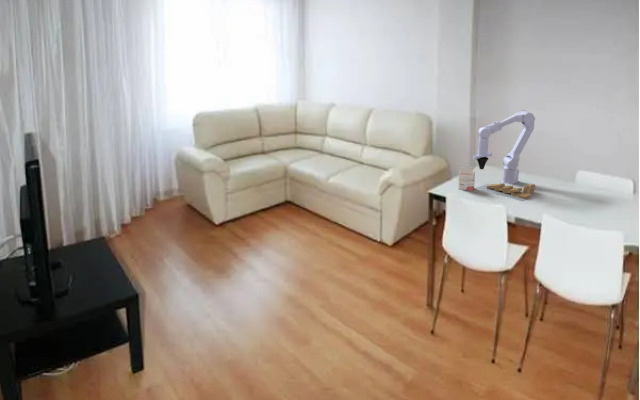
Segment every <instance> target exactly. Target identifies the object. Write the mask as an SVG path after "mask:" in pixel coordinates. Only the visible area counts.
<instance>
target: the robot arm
mask: <svg viewBox="0 0 640 400" xmlns="http://www.w3.org/2000/svg"><path fill="white" fill-rule="evenodd" d="M535 121H536V117H535V115H534V114H533V113H532V112H528V111H526V110H521V111H518V112H515V113H514V114H513V115H510V116H508V117H506V118H504V119H502V120H501V121H497V120H495V121H492V123H490V124H488V125H487V124H486V125H485V126H481V127H480V128H479V129H478V131H477V134H478V144H477V147H478V148H477V154H474V155H473V156H472V160H474V161H475V160H476V162H477V163H478V168H479V170H484V169H485V166H486V164H487V162H488V160H489V157H492V156H493V152H490V151H489V138H490V136H491V135H493V134H495V133H498V132H500V131H502V129H503V128H504V127H506V126H509V125H511V124H513V123H521V125H522V127H523V128H522V131H521V132H520V134H519V136H518V138H517V139H516V142H515V143H514V145H513V147H512V149H511V151H510V152H508V153H507V154H506V156H504V157H503V159H502V164H503V168H502V169H503V170H502V180H500V181H499V183H501V184H502V183H504V184H505V185H513V184H516V183H520V181H519V175H520V172H519V171H520V170H519V168H518V166H519V162H520V155H521V153H522V151H523V150H524V148H525V146H526V144H527V142H528V141H529V139H530V137H531V135H532V133H533V132H534V130H535Z"/></svg>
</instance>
